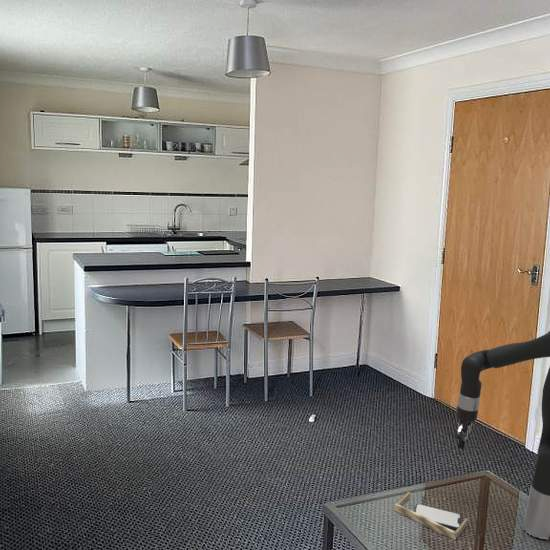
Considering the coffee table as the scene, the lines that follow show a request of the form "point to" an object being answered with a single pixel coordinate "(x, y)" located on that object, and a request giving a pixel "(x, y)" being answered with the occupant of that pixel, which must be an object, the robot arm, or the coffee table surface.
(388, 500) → the coffee table surface
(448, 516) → the smartphone
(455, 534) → the wood frame
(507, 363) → the robot arm
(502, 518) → the coffee table surface
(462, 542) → the coffee table surface
